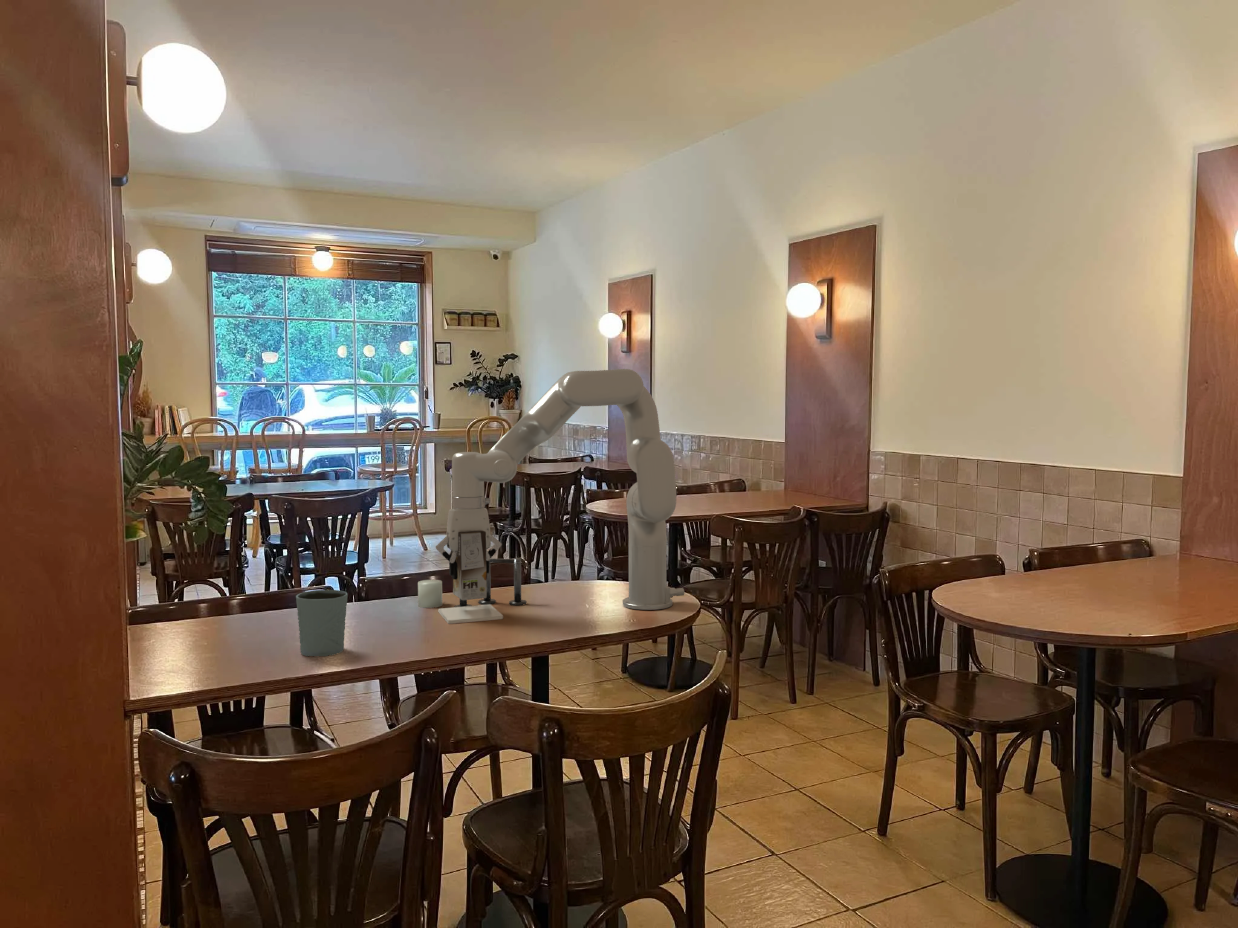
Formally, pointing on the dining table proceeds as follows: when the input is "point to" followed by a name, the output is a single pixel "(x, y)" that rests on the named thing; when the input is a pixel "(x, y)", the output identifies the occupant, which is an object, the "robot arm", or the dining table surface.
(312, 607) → the green tapered pot
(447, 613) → the plate
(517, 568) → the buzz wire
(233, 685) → the dining table surface
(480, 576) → the coffee box
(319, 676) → the dining table surface
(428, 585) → the pale green pillar candle
